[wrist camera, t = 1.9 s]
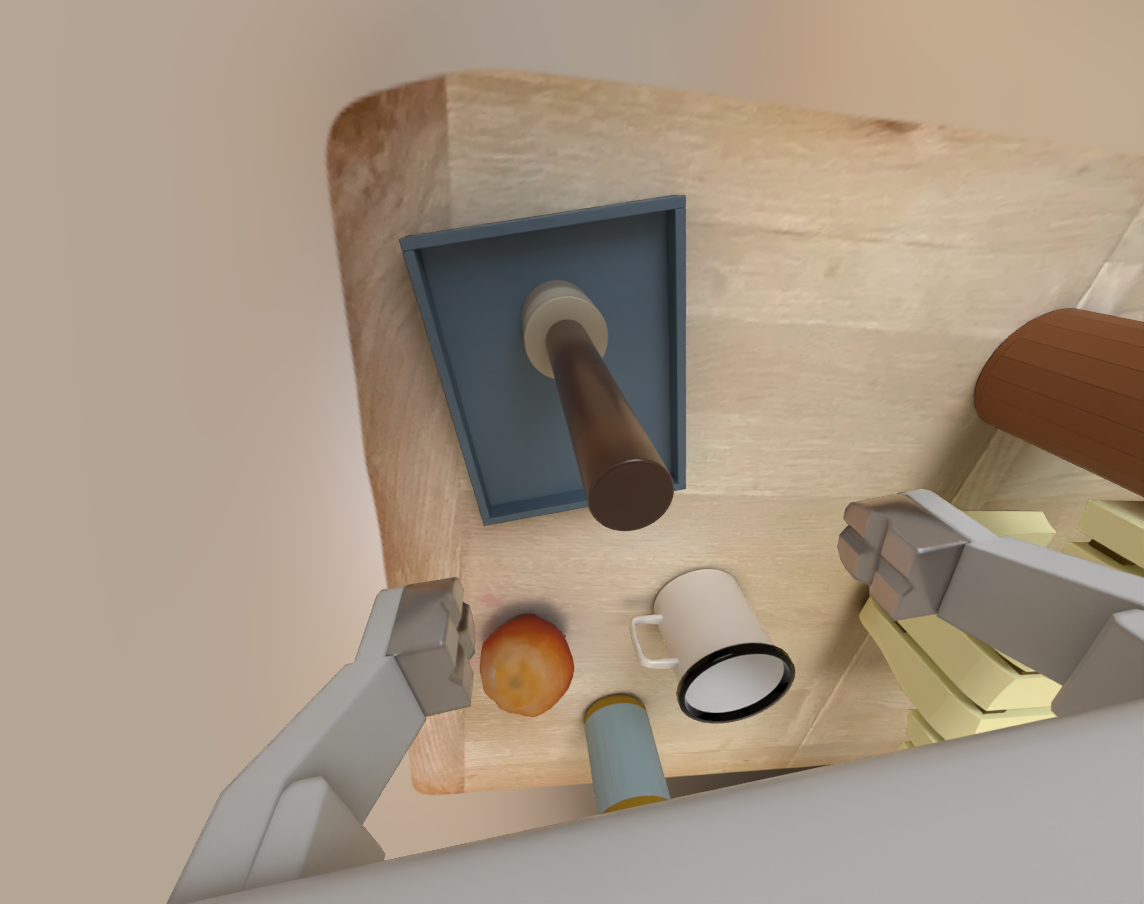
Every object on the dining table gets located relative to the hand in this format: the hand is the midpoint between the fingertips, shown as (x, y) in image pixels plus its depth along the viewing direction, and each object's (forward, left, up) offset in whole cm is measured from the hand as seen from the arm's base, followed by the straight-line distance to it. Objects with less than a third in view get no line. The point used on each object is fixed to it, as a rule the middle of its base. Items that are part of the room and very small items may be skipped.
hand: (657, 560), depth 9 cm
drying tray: (+4, 0, -22) cm, 22 cm away
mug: (+28, +8, -22) cm, 36 cm away
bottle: (+44, 0, -22) cm, 49 cm away
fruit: (+28, -7, -22) cm, 36 cm away
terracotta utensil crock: (+10, +36, -22) cm, 43 cm away
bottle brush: (0, 0, -21) cm, 21 cm away
